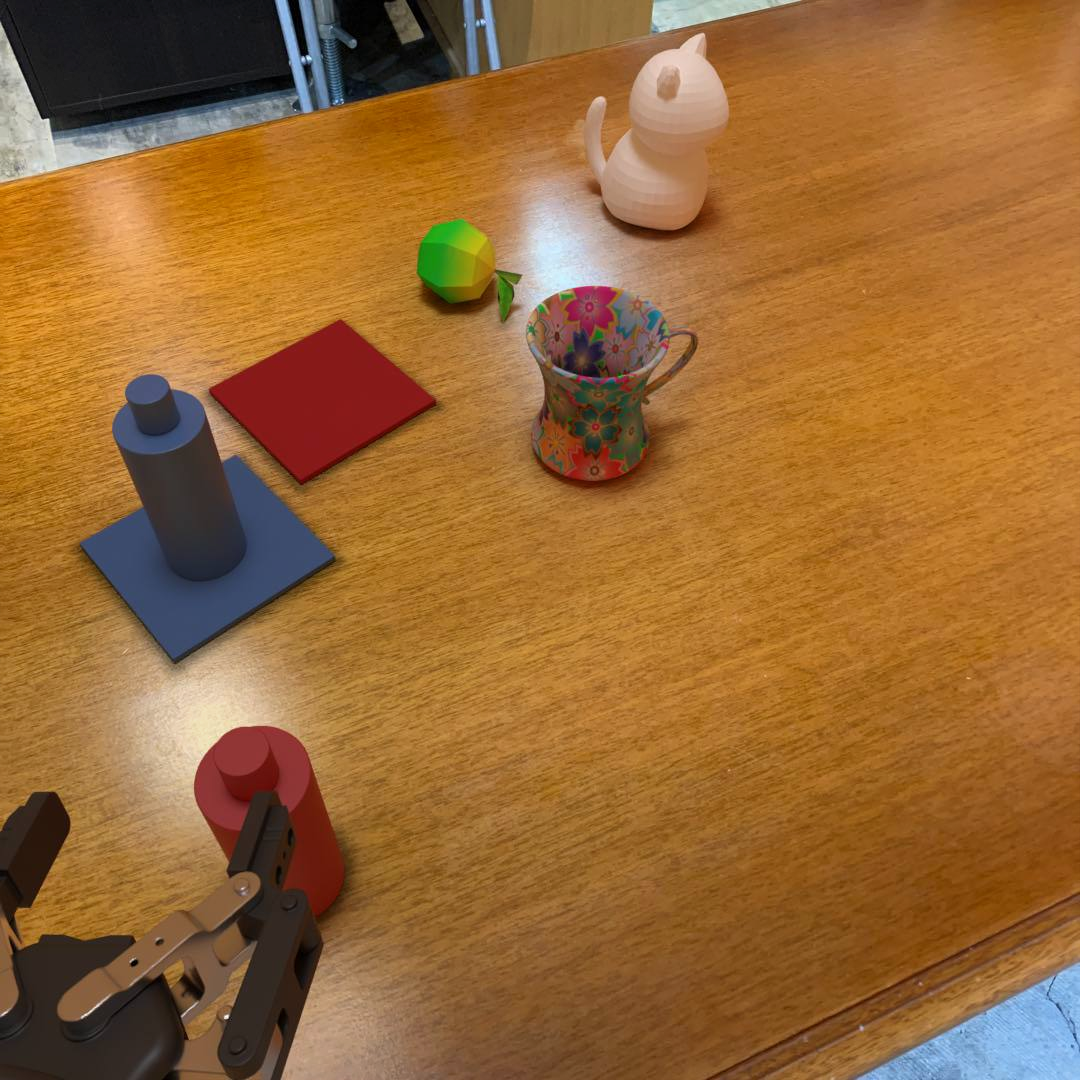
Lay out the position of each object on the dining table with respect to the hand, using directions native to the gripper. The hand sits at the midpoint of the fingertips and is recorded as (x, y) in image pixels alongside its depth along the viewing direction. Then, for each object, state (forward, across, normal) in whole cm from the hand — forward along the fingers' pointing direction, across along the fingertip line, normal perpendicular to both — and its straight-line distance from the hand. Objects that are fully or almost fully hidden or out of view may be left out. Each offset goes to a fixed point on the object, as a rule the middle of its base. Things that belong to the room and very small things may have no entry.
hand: (162, 805), depth 40 cm
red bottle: (+9, +1, +17) cm, 20 cm away
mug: (+42, -15, +10) cm, 46 cm away
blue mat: (+30, +11, +10) cm, 33 cm away
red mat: (+44, +6, +7) cm, 45 cm away
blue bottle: (+30, +11, +10) cm, 33 cm away
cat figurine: (+69, -18, +4) cm, 72 cm away
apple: (+57, -4, +5) cm, 57 cm away
